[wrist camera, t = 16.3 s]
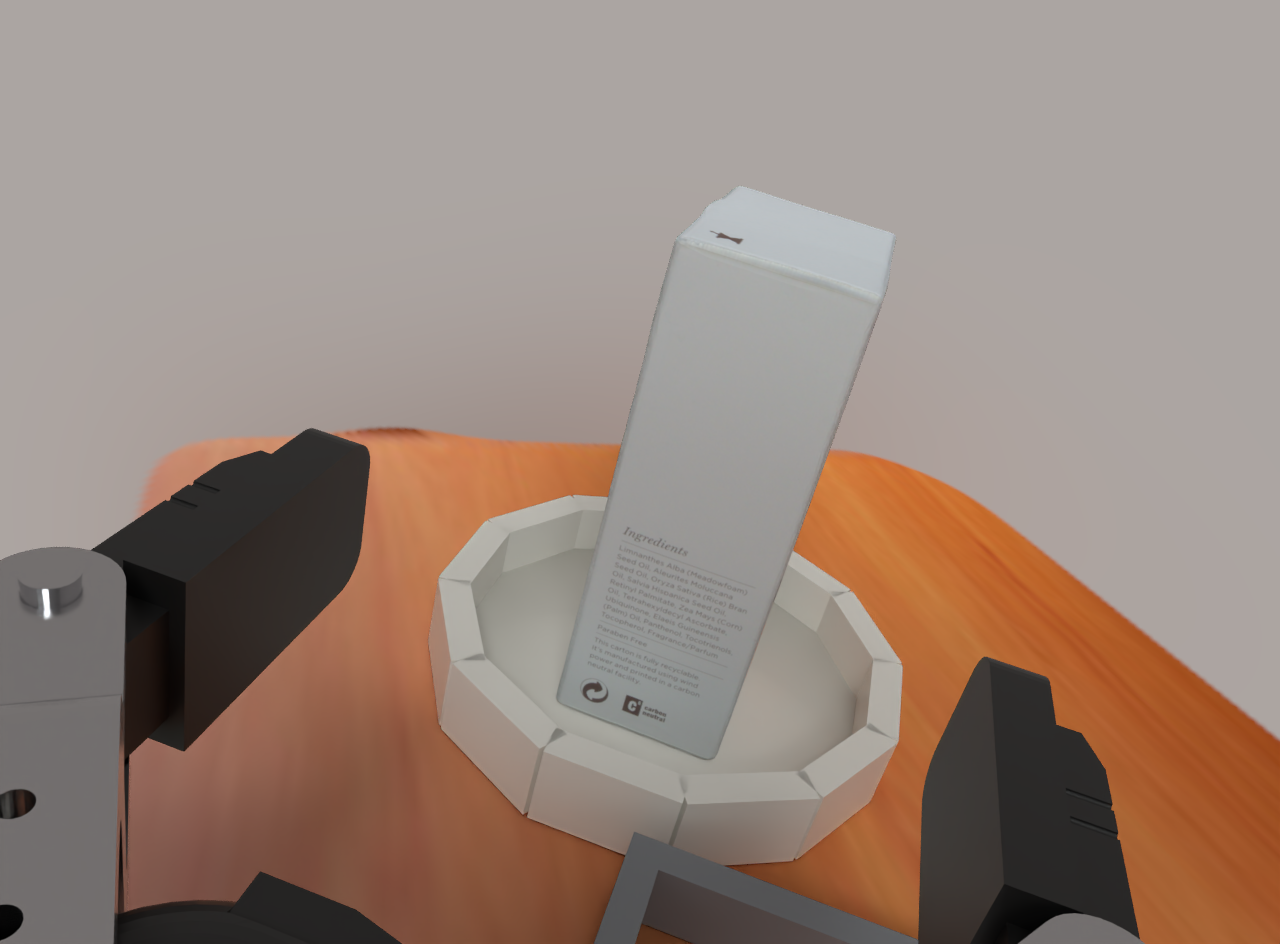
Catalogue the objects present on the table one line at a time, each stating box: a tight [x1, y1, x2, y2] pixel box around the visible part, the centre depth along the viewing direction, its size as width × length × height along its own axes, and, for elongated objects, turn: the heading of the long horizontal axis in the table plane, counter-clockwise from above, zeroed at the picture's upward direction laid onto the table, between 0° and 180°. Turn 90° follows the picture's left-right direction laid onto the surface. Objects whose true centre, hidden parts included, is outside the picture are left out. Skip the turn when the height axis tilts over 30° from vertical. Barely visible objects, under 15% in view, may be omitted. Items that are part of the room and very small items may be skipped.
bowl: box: [428, 495, 903, 866], centre depth 27 cm, size 12×12×2 cm
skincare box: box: [556, 186, 896, 759], centre depth 25 cm, size 6×4×12 cm
